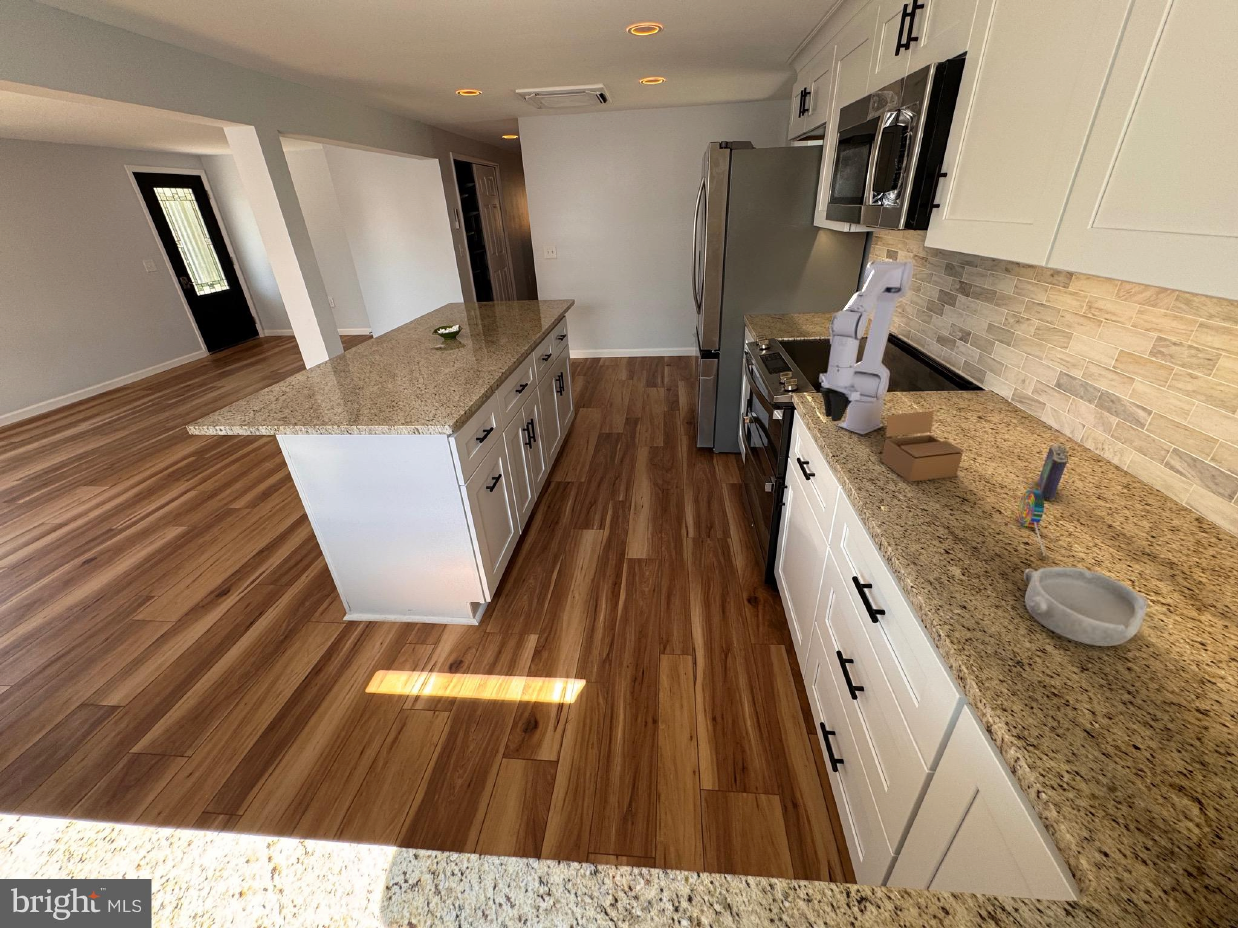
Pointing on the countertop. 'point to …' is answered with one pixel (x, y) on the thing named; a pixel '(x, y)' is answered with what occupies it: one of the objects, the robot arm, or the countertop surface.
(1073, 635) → the dish
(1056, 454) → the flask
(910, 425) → the flap
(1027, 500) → the lollipop
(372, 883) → the countertop surface
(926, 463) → the carton
